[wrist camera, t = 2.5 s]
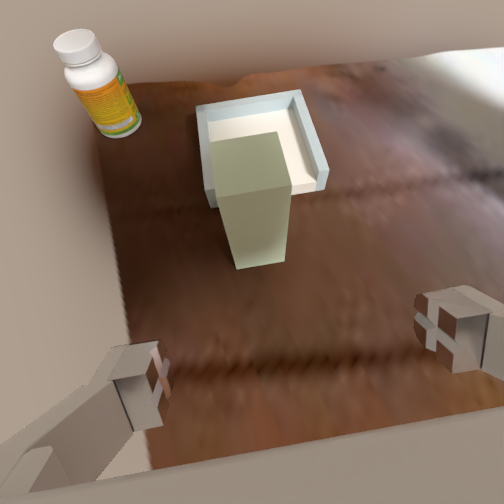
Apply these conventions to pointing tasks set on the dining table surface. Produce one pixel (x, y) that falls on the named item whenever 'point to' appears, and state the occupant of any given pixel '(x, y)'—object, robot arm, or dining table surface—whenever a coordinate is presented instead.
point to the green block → (253, 197)
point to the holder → (264, 121)
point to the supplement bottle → (98, 83)
